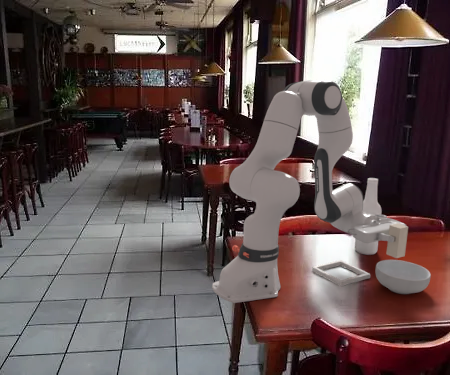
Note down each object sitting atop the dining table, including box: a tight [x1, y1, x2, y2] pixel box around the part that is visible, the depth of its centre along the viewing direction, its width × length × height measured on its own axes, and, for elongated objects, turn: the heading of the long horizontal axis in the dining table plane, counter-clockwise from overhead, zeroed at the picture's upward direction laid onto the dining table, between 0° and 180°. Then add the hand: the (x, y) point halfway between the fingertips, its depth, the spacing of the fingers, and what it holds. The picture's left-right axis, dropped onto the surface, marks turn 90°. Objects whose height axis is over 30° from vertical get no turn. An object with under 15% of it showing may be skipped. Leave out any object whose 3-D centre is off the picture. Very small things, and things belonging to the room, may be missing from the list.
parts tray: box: [311, 259, 371, 287], centre depth 153 cm, size 14×14×2 cm
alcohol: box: [354, 177, 383, 256], centre depth 173 cm, size 9×9×30 cm
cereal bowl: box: [374, 259, 432, 295], centre depth 143 cm, size 17×17×7 cm
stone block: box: [386, 223, 409, 259], centre depth 141 cm, size 4×4×10 cm
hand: (400, 238), depth 140 cm, fingers closed on stone block, 4 cm apart
